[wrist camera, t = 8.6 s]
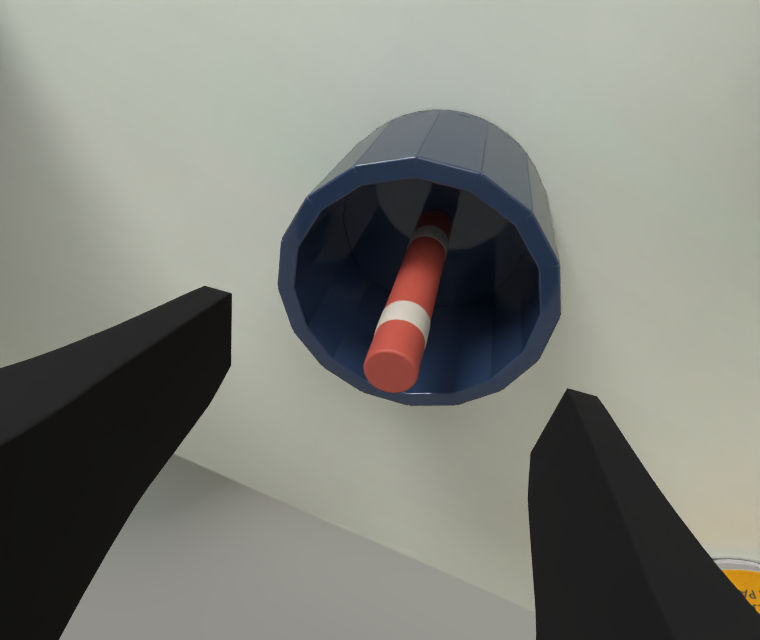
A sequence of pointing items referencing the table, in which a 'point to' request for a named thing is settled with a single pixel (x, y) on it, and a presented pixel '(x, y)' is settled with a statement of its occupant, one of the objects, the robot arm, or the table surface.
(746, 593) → the beer can
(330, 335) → the cup
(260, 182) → the table surface
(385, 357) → the baton
